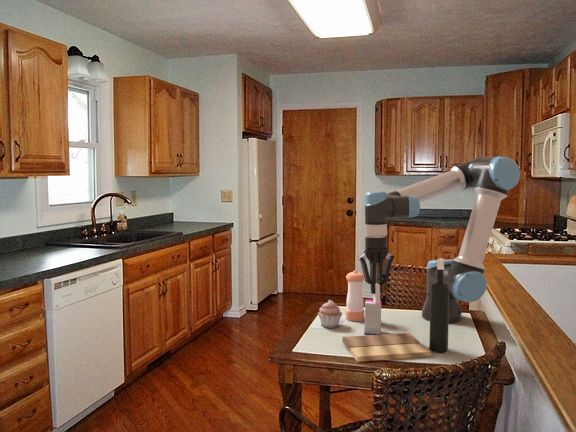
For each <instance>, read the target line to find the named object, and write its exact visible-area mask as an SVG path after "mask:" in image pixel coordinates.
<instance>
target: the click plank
mask: <svg viewBox="0 0 576 432" xmlns="http://www.w3.org/2000/svg"><path fill="white" fill-rule="evenodd" d="M341 338H342V339H341V340H342V344H343V345H344V346H345V348H346V350H348V352H349V353H350V348H354V347H369V346H384V345H399V344H414V343H420V341H419V340H418V339H417V338H416V337H415V336H414V335H413V334H412V333H411V332H401V333H399V332H398V333H383V334H380V335H353V336H342V337H341Z"/></svg>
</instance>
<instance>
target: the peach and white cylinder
mask: <svg viewBox="0 0 576 432" xmlns="http://www.w3.org/2000/svg"><path fill="white" fill-rule="evenodd" d="M345 278H346V281H347V285H348V286H347V288H348V289H347V295H346V309H345V320H347V321H349V322H362V321H365V308H364V304H365V302H364V297H363V295H364V294H363V281H365V278H364V274H363V272H362V273H361V272H360V271H359V272H358V271H357V270H353V271H352V272H351V271H350V272H349V273H347V274H346V276H345ZM361 320H362V321H361Z"/></svg>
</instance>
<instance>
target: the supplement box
mask: <svg viewBox="0 0 576 432" xmlns="http://www.w3.org/2000/svg"><path fill="white" fill-rule="evenodd" d="M381 322H382V300H381V299H380V304H376V303H374V302H373V299H365V302H364V327H363V328H364V330H363V334H364V335H363V336H366V335H381V329H382V328H381V327H382V326H381V325H382V323H381Z"/></svg>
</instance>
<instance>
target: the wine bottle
mask: <svg viewBox="0 0 576 432" xmlns="http://www.w3.org/2000/svg"><path fill="white" fill-rule="evenodd" d="M436 260H437V282H435V283H433V284H432V285H431V296H430V320H429V348H428V349H429V350H430V351H431V353H432V352H433V353H436V354H437V353H438V354H444V353H448V351H449V286H448V284H446V283H444V282H443V275H444V260H445V259H444V258H441V257H439V258H437V259H436Z"/></svg>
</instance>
